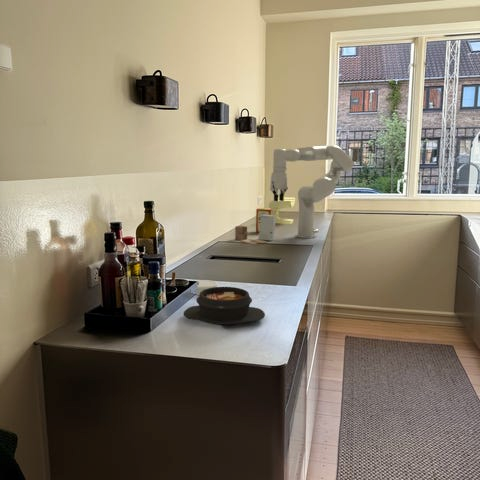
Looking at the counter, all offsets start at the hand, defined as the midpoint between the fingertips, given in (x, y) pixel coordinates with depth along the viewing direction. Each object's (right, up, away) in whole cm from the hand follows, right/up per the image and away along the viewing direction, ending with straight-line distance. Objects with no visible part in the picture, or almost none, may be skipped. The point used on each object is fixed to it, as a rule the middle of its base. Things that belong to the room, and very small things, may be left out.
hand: (278, 200), depth 279 cm
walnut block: (-23, -24, -1) cm, 33 cm away
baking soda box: (-7, -19, +26) cm, 33 cm away
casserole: (-28, -48, -137) cm, 148 cm away
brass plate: (-15, -25, -7) cm, 30 cm away
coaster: (-37, -43, -108) cm, 122 cm away
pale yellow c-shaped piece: (+9, -11, +75) cm, 76 cm away
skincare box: (-7, -24, -1) cm, 25 cm away
